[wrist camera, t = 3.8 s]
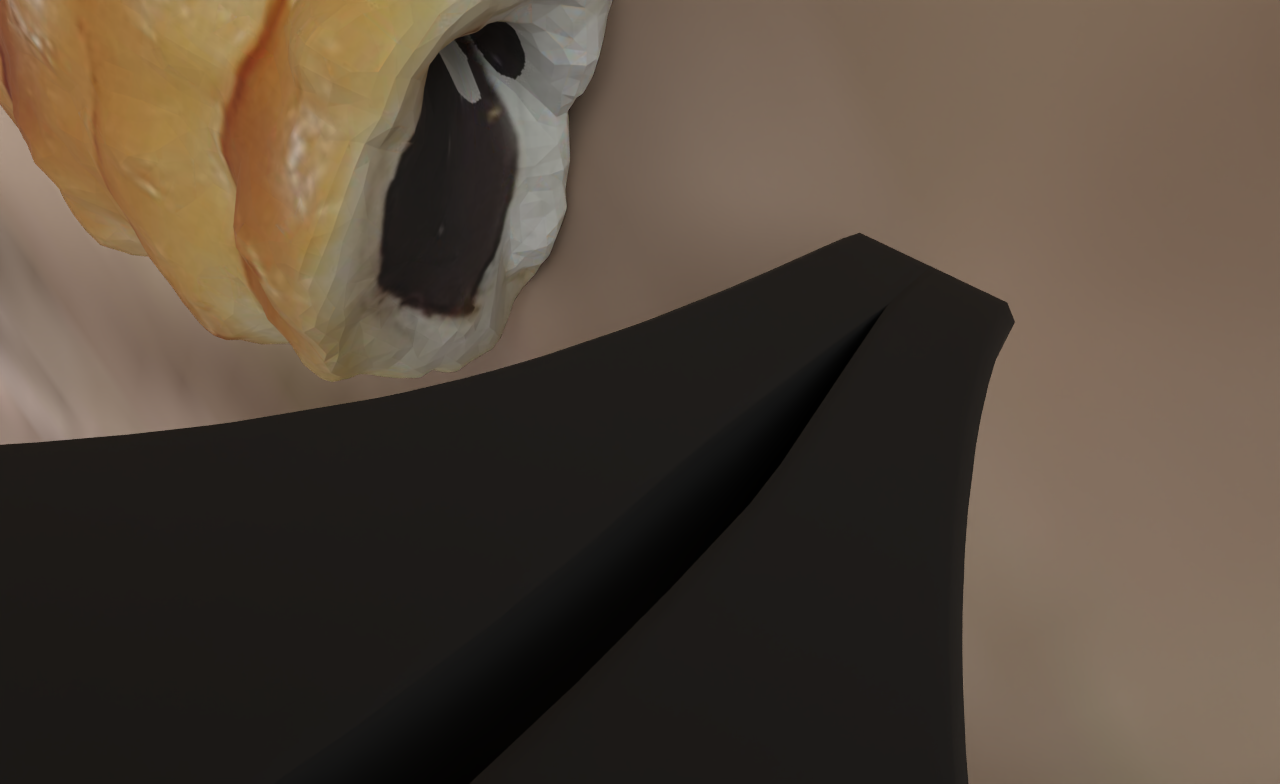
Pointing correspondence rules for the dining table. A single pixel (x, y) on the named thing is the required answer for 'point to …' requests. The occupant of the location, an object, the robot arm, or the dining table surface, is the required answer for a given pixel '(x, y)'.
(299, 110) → the pastry
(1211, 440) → the dining table surface
